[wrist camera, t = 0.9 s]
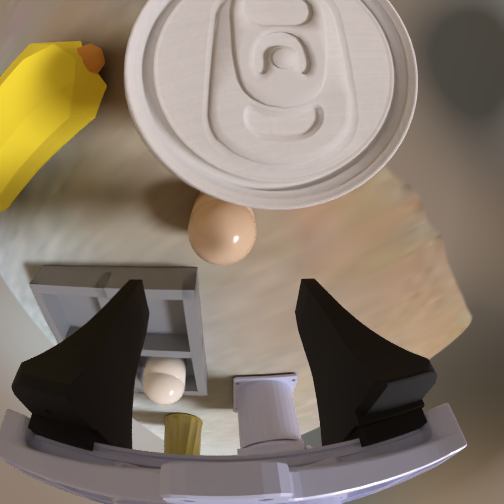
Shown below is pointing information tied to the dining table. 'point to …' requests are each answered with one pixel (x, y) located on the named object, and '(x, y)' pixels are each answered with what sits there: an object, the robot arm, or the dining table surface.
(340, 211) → the dining table surface
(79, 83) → the yellow banana
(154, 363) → the cream egg
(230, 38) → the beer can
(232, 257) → the brown egg
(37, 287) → the gray compartment tray
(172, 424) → the vase
